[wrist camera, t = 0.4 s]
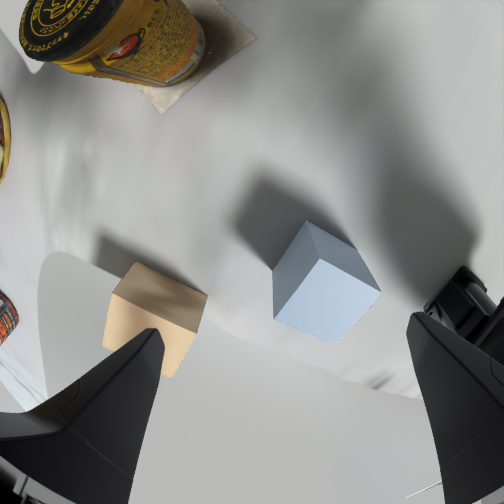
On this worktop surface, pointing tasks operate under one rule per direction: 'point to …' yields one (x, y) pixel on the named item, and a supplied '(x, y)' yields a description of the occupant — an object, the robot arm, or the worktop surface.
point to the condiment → (134, 41)
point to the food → (4, 139)
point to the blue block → (321, 285)
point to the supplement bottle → (7, 318)
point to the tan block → (154, 313)
